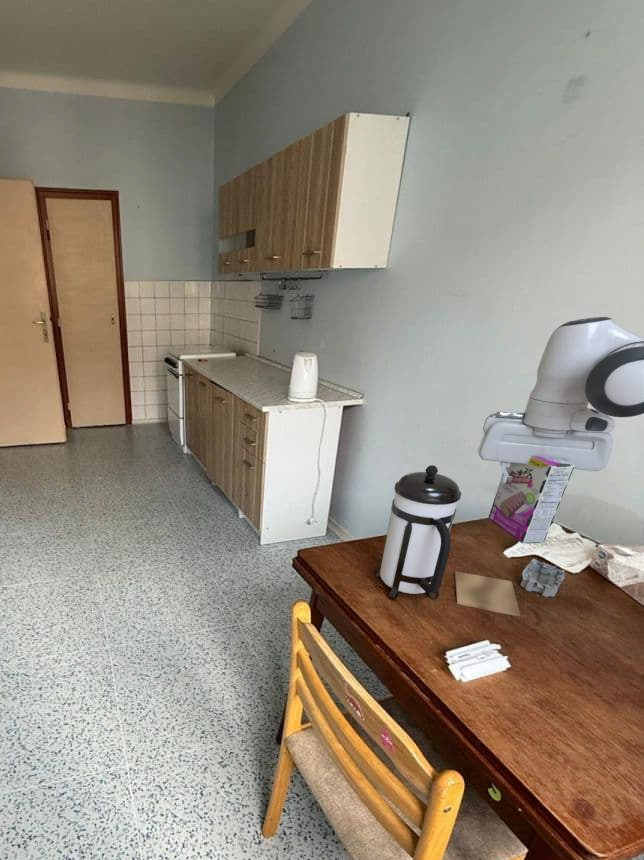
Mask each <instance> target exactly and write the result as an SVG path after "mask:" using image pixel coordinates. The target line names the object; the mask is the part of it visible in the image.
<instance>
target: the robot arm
mask: <svg viewBox="0 0 644 860" xmlns="http://www.w3.org/2000/svg"><path fill="white" fill-rule="evenodd" d="M544 347H545V348H544V350H543V353H542V355H541V357H540V361H539V364H538V367H537V370H536V382H535V385H534V387H533V389H532V390H531V392H530V393H529V396H528V400H527V402H526V406H525V409H524V412H507V411H506V412H505V411H496V412H495V413H492V414H491V413H490V415H488V416H487V417H486V418H485V420H484V423H483V427H482V430H483V433H484V434H483V436H482V438H481V441H480V443H479V446H478V450H477V454H478V456H479V457H480V459H481V460H483V461H489V462H499V465H500V469H501V471H502V474H503V477H502V476H501V477H502V483H503V484H511V483H512V481H511V480H512V479H513V475H512V474H511V473H508V472H507V470H506V467H507V468H509V467H510V464H511V463H519V464H528V462H529V461H530V458H531V457H532V456H540V457H549V458H557V459H563V460H566V461H568V462H570V463H573V464H574V465H575V467H574V469H573V471H574V470H579V471H589V472H600V471H601V470H603V469H605V468H606V467H607V466H608V463H609V460H610V458H611V454H612V450H613V446H614V438H613V436H612V435H611V434H610V433H612V432H613V431H614V429H615V427H616V422H615V421H616V420H614V419H613V418H630V417H631V418H632V417H636V416H641V415H643V414H644V337H643V336H640V335H637V334H635V333H634V332H631V331H629V330H627V329H626V328H624V327H622V326H621V325H619V324H618V322H616V321H615V320H614V319H613V318H612V317H608V316H598V317H597V316H596V317H595V316H594V317H588V318H581V319H576V320H570V321H567V322H564V323H563V324H561V325H559V326H558V327H556V329H554V331H552V333H551V335H550V336H549V338H548V340H547V342H546V345H545V346H544ZM589 404H590V406H591V407H592V408H590V407H588V406H589ZM612 417H613V418H612ZM573 471H572V473H573Z"/></svg>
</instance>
